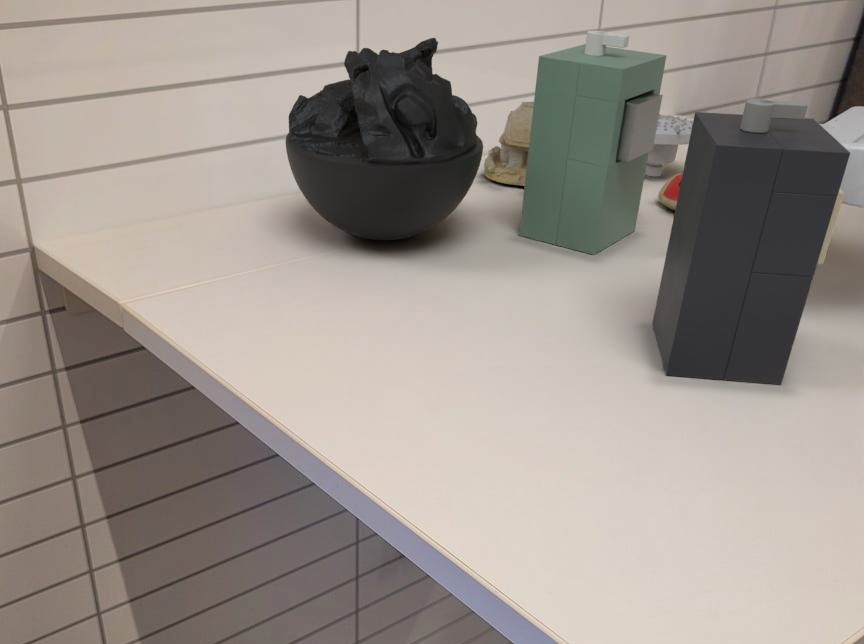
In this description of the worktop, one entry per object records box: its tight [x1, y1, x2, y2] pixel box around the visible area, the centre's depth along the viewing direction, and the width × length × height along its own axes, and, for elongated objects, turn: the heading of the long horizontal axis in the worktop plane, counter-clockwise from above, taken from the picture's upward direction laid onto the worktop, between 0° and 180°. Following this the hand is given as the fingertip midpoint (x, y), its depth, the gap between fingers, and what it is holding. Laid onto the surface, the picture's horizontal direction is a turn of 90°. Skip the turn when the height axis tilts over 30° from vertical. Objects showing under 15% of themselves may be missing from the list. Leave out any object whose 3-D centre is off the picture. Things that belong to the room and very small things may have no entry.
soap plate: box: [616, 93, 663, 162], centre depth 94 cm, size 1×6×5 cm, turn 143°
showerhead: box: [645, 113, 693, 178], centre depth 121 cm, size 9×7×10 cm
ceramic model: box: [483, 101, 534, 187], centre depth 116 cm, size 14×11×10 cm
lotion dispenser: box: [651, 98, 850, 385], centre depth 73 cm, size 9×10×20 cm
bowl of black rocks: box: [285, 37, 484, 241], centre depth 95 cm, size 20×20×19 cm
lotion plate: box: [817, 189, 844, 265], centre depth 72 cm, size 1×6×5 cm, turn 173°
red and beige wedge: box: [657, 173, 683, 212], centre depth 110 cm, size 7×10×4 cm
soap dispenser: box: [518, 30, 667, 256], centre depth 97 cm, size 9×10×20 cm
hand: (766, 132), depth 87 cm, fingers closed
